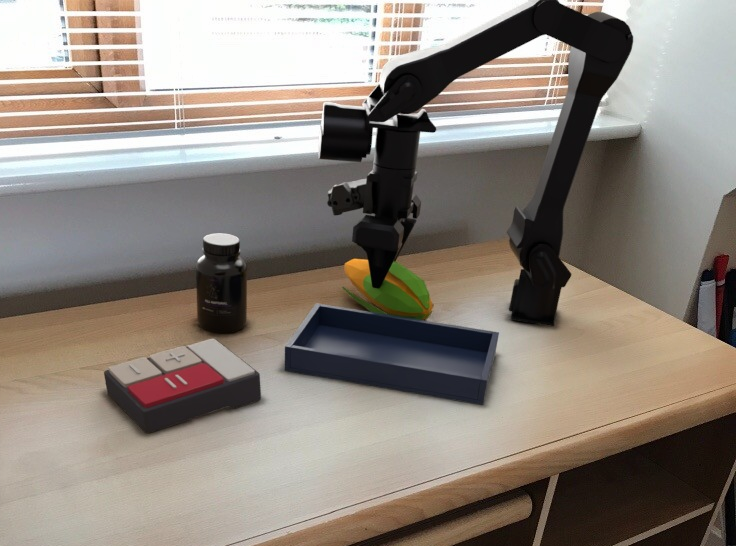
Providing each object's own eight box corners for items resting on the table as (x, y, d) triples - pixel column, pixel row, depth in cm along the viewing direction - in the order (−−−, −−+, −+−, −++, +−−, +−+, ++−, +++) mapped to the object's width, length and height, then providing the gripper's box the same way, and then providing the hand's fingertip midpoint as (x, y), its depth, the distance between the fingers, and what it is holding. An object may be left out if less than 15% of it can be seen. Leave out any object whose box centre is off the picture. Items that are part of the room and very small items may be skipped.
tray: (495, 355, 116) (499, 332, 114) (482, 405, 104) (487, 380, 102) (315, 325, 120) (316, 303, 118) (284, 370, 108) (284, 346, 106)
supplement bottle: (207, 337, 115) (204, 250, 107) (191, 317, 119) (186, 232, 112) (254, 330, 117) (254, 244, 110) (236, 311, 122) (235, 228, 115)
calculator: (101, 365, 99) (214, 332, 106) (106, 397, 101) (217, 363, 108) (142, 406, 92) (261, 368, 99) (147, 439, 94) (262, 399, 102)
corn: (405, 289, 113) (324, 242, 125) (400, 342, 117) (323, 291, 130) (448, 279, 116) (365, 234, 129) (442, 331, 121) (362, 282, 134)
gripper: (351, 143, 122) (342, 250, 130) (318, 170, 106) (310, 290, 115) (428, 154, 120) (413, 262, 129) (405, 183, 105) (390, 304, 114)
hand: (381, 278), depth 122 cm, fingers closed on corn, 8 cm apart
